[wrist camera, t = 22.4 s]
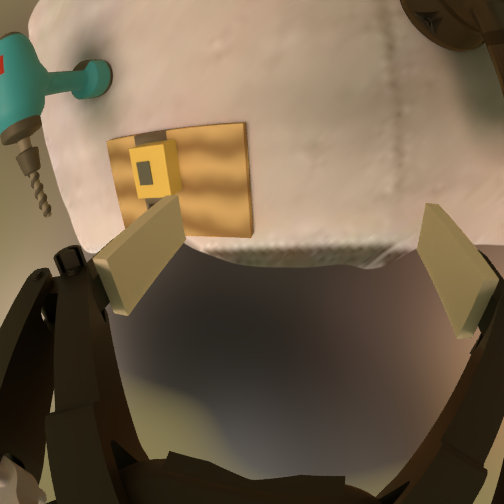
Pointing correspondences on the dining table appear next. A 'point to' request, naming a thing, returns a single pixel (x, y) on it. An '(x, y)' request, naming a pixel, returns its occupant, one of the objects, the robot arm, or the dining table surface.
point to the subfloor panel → (195, 178)
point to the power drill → (38, 98)
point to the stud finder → (156, 169)
